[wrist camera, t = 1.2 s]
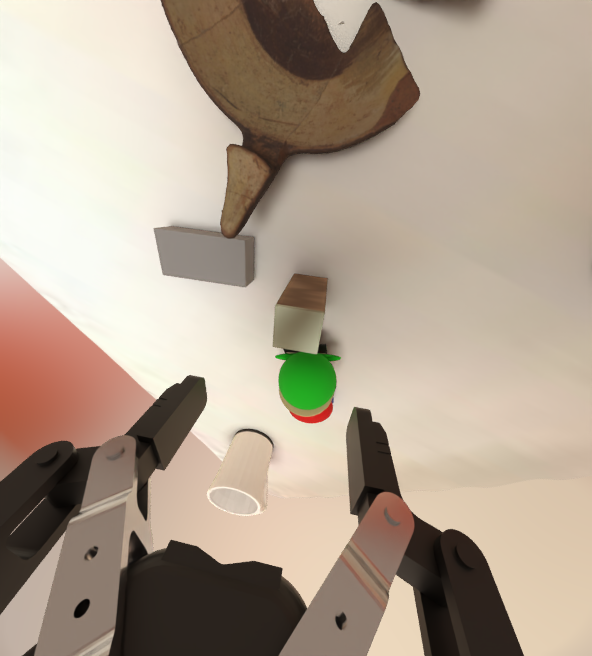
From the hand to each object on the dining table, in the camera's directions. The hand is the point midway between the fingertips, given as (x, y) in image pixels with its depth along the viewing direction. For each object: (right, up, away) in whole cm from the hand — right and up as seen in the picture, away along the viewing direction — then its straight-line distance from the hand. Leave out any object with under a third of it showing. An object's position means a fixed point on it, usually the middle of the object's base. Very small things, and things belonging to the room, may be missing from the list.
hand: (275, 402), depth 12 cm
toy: (+3, -3, +22) cm, 22 cm away
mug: (-7, -20, +33) cm, 39 cm away
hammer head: (-9, +13, +15) cm, 22 cm away
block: (+3, +8, +15) cm, 18 cm away
